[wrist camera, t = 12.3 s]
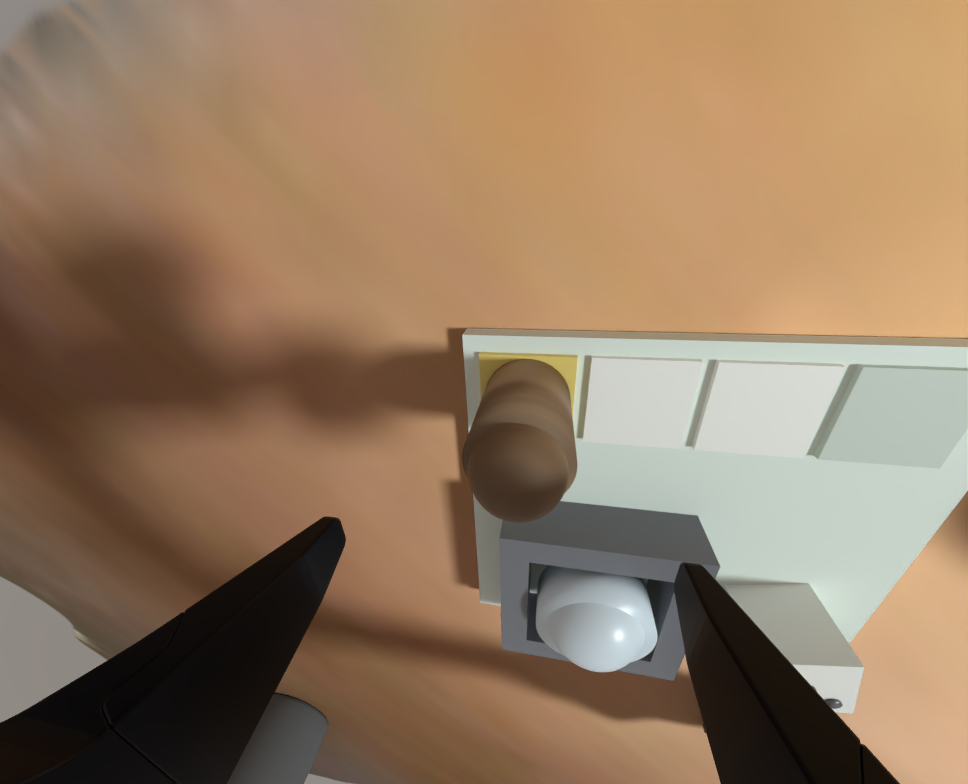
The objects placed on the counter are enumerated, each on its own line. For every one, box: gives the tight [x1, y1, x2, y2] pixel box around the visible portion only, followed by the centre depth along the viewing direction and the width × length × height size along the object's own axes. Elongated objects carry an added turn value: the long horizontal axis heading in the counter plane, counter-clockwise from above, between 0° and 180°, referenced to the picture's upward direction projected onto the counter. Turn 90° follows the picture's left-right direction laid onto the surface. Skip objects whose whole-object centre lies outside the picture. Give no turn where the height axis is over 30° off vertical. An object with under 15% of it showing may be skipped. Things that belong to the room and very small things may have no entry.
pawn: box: [462, 359, 577, 523], centre depth 14 cm, size 4×4×7 cm
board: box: [462, 328, 968, 643], centre depth 19 cm, size 20×22×1 cm
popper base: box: [499, 501, 720, 681], centre depth 20 cm, size 10×10×3 cm
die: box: [725, 584, 864, 713], centre depth 19 cm, size 4×4×4 cm
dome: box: [536, 565, 657, 672], centre depth 19 cm, size 6×6×5 cm
